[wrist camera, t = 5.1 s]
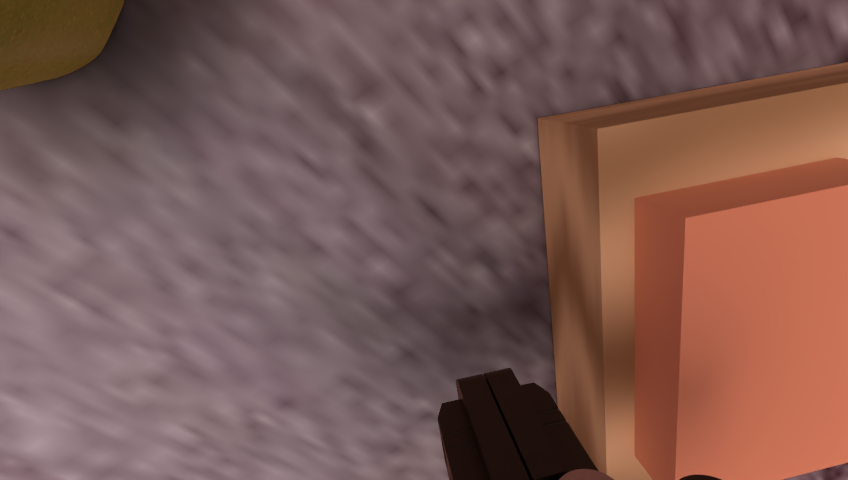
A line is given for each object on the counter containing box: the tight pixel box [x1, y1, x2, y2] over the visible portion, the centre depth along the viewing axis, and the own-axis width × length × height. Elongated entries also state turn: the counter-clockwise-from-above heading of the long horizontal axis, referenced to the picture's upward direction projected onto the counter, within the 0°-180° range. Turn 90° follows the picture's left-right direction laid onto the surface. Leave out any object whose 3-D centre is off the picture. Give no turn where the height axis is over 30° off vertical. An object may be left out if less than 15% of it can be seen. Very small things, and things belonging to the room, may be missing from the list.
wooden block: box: [537, 62, 848, 480], centre depth 16 cm, size 13×14×4 cm
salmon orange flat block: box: [635, 158, 848, 480], centre depth 13 cm, size 9×6×2 cm, turn 9°
